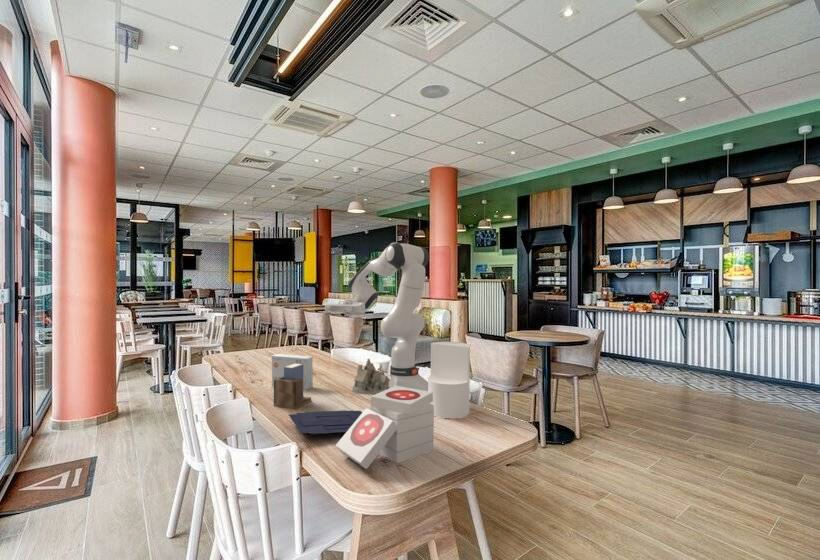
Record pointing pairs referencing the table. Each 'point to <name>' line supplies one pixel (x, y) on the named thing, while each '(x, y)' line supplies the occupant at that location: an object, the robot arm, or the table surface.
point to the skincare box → (285, 360)
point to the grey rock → (370, 380)
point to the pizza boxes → (392, 427)
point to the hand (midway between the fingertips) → (336, 309)
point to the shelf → (289, 393)
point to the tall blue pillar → (293, 372)
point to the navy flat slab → (324, 421)
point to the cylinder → (450, 379)
